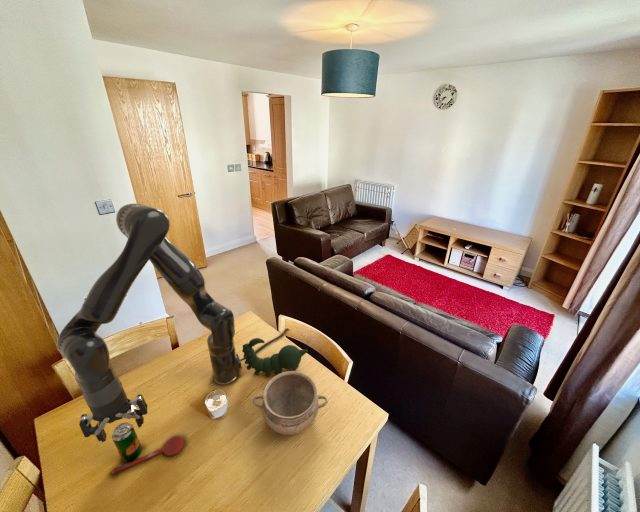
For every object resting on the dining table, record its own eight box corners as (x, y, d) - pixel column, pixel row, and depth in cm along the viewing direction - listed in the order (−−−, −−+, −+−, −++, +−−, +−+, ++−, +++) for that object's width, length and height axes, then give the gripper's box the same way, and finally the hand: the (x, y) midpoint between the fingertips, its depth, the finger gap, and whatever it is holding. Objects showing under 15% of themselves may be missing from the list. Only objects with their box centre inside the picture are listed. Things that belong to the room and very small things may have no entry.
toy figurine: (248, 386, 107) (311, 374, 110) (239, 350, 98) (307, 338, 102) (249, 367, 115) (308, 356, 118) (241, 333, 107) (304, 322, 110)
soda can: (133, 465, 80) (121, 440, 74) (118, 461, 80) (106, 436, 75) (146, 447, 84) (136, 423, 79) (132, 443, 85) (121, 419, 80)
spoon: (183, 434, 88) (182, 431, 87) (184, 450, 84) (184, 448, 83) (113, 464, 80) (112, 462, 79) (111, 484, 75) (110, 482, 75)
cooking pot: (248, 445, 85) (245, 421, 80) (259, 392, 103) (257, 369, 97) (328, 445, 86) (329, 420, 81) (325, 392, 103) (327, 369, 98)
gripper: (65, 418, 64) (89, 457, 71) (136, 393, 71) (151, 431, 78) (72, 393, 70) (94, 431, 77) (137, 372, 76) (151, 409, 84)
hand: (123, 431), depth 78 cm, fingers open, 8 cm apart
